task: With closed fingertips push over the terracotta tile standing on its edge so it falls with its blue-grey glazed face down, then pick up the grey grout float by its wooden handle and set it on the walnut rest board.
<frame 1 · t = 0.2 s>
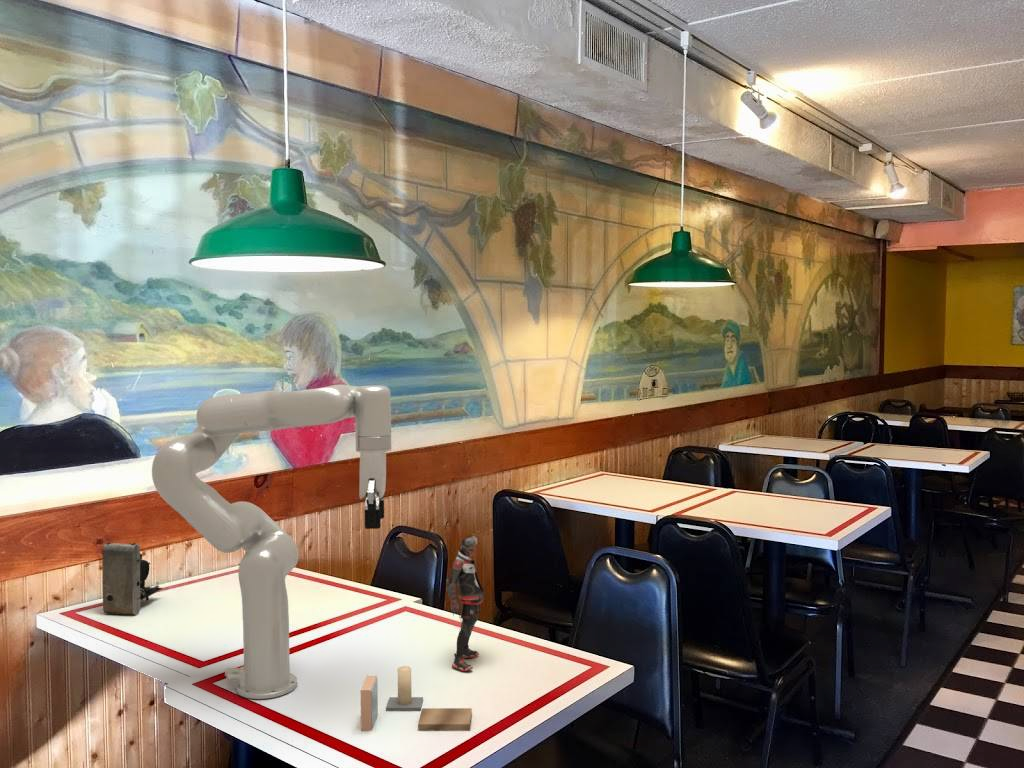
hand: (374, 523, 179), 36 cm above the table, fingers open, 9 cm apart
board: (445, 722, 165), on the table
action figure: (464, 663, 195), on the table
float: (404, 706, 172), on the table
tile: (369, 722, 165), on the table
vintage camera: (133, 608, 236), on the table
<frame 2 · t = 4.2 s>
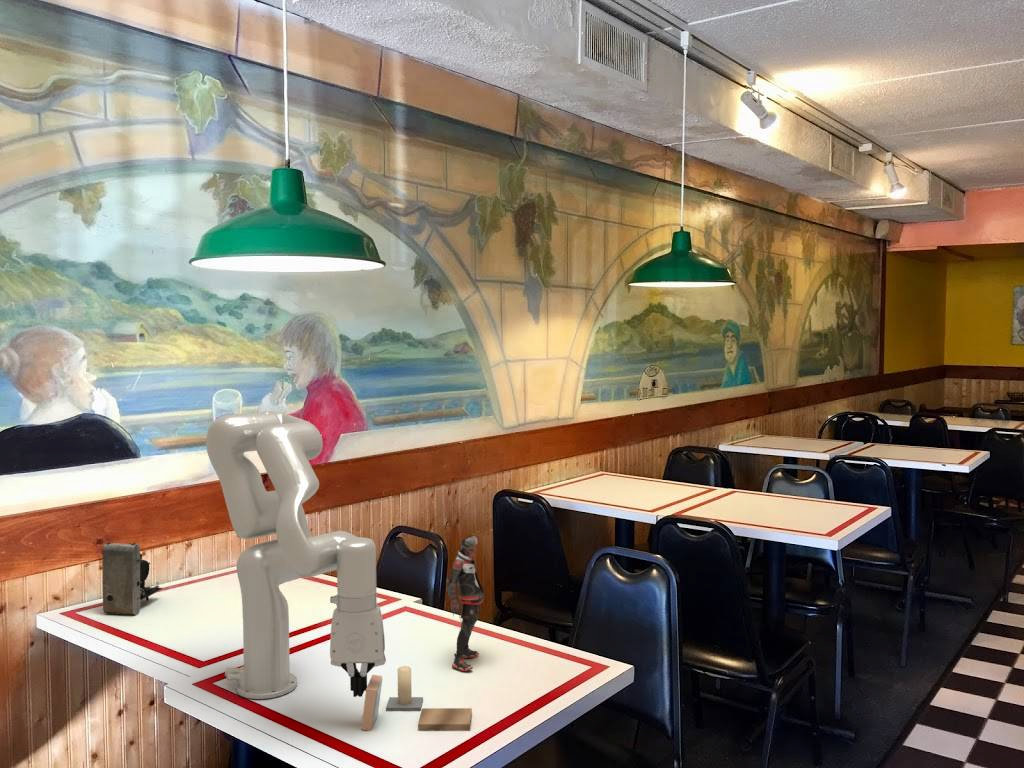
hand: (358, 693, 164), 6 cm above the table, fingers closed
tile: (369, 721, 165), on the table, tilted 8°
everything else where it was.
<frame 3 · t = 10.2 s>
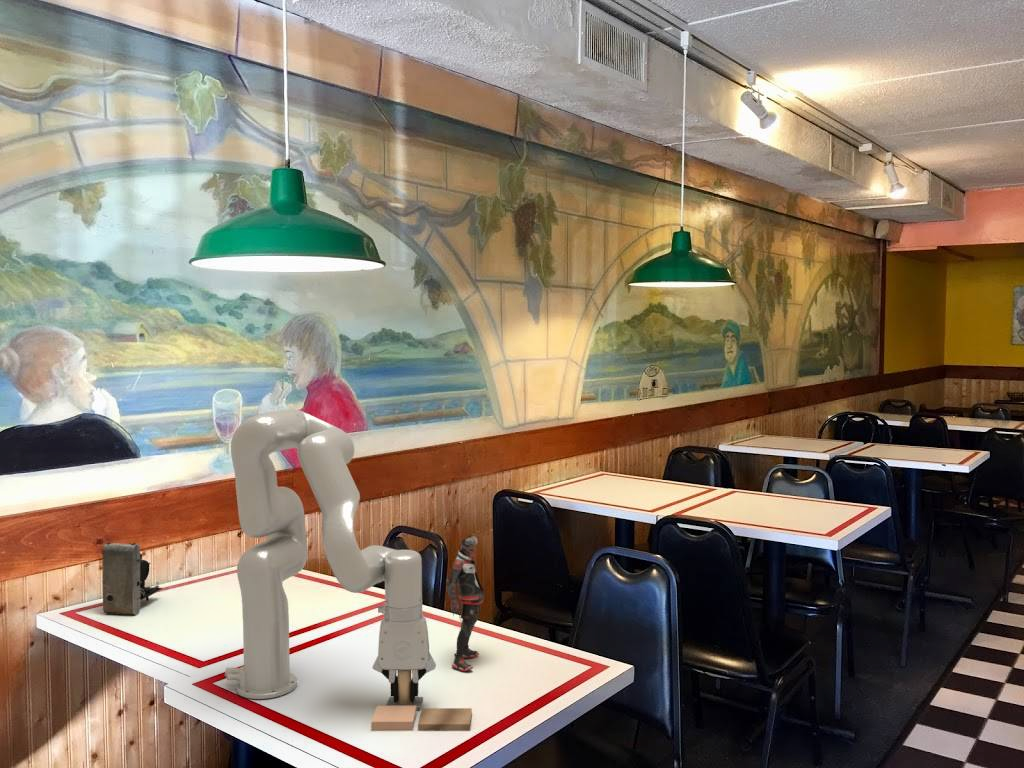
hand: (404, 698, 172), 1 cm above the table, fingers closed on float, 2 cm apart
float: (404, 705, 172), on the table, touching gripper
tile: (374, 718, 165), point 1 cm above the table, tilted 90°
everything else where it was.
when the fingers open (4 cm above the table, at t = 14.2 s): float drops 1 cm, resting on board.
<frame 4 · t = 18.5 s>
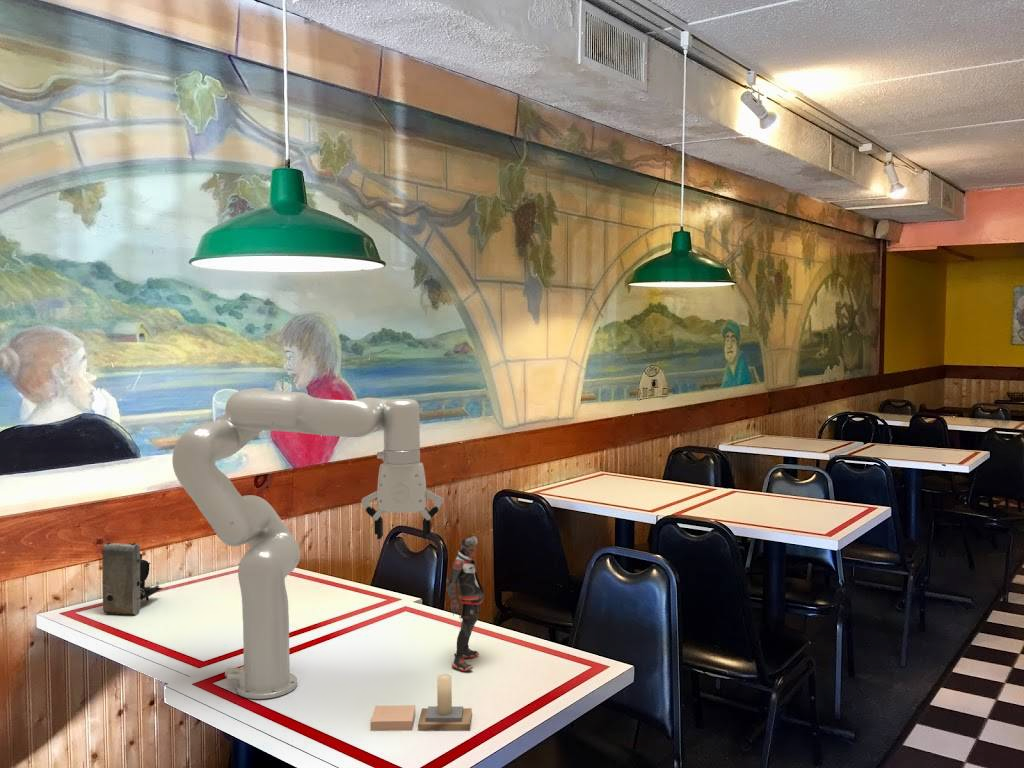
hand: (402, 537, 177), 33 cm above the table, fingers open, 9 cm apart
float: (444, 716, 165), point 1 cm above the table, touching board
everything else where it was.
at the end: tile tilted 90°; float inside the target area on the board (0.2 cm from its centre), point 1.2 cm above the board's base; float tilted 0° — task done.
